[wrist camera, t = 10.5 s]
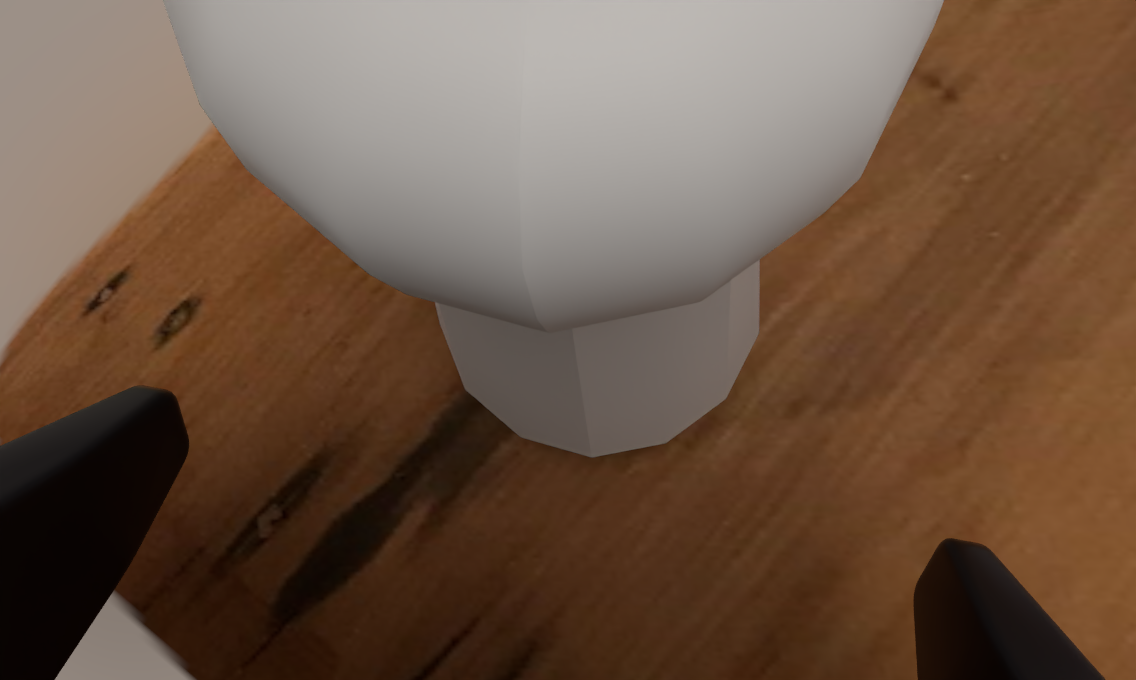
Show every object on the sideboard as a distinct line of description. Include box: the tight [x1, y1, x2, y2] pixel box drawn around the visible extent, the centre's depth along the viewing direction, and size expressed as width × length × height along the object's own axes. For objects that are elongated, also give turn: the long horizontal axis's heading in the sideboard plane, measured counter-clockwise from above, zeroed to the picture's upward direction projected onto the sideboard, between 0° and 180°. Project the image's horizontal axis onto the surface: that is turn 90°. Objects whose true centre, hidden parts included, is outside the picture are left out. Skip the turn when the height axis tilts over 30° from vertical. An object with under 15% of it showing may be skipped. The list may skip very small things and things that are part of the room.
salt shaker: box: [163, 0, 944, 457], centre depth 10 cm, size 6×6×13 cm
